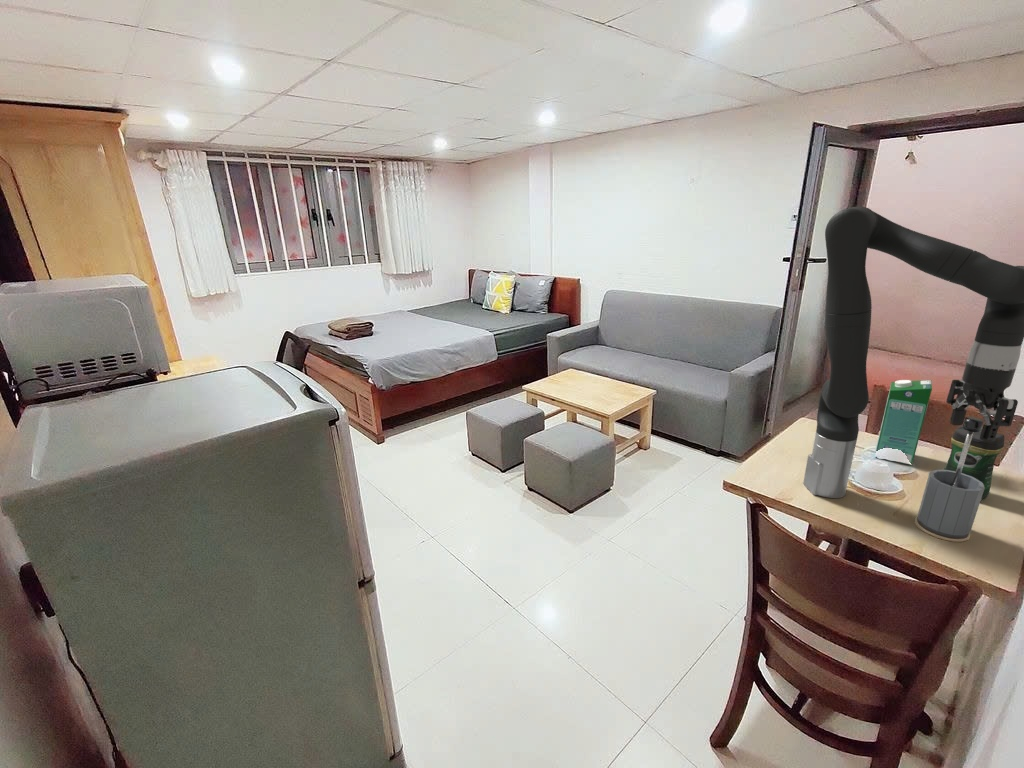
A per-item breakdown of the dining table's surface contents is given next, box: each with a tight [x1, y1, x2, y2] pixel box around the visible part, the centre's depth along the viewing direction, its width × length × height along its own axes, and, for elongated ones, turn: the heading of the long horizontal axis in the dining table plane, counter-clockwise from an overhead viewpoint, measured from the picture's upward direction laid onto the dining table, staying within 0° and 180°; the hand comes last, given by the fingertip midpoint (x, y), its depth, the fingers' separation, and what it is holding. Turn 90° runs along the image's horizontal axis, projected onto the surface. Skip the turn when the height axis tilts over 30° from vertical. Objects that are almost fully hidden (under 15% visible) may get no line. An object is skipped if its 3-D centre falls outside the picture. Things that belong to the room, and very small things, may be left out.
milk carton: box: [875, 379, 933, 465], centre depth 142 cm, size 9×9×25 cm
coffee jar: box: [943, 424, 1005, 500], centre depth 124 cm, size 10×8×19 cm
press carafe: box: [914, 469, 985, 543], centre depth 111 cm, size 10×10×14 cm
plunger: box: [945, 416, 985, 489], centre depth 106 cm, size 7×7×19 cm
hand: (970, 432), depth 104 cm, fingers open, 7 cm apart
